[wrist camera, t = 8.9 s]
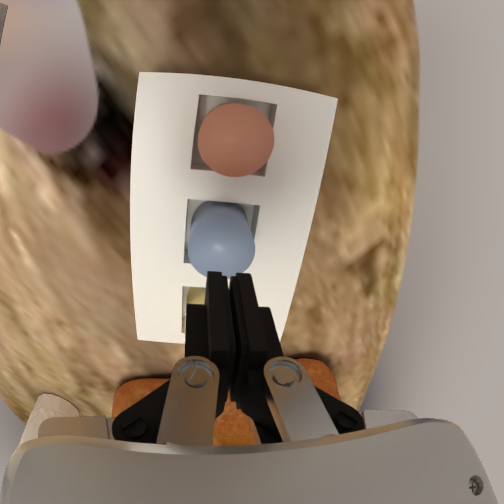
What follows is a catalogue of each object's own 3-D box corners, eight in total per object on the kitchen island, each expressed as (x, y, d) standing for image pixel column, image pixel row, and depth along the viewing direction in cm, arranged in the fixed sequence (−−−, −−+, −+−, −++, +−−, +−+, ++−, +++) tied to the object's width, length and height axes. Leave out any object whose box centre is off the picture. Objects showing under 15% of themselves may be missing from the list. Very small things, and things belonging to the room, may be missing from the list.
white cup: (28, 385, 30) (7, 442, 22) (75, 396, 32) (60, 459, 23) (44, 414, 34) (30, 466, 25) (88, 425, 35) (78, 480, 27)
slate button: (193, 195, 20) (189, 217, 17) (251, 200, 21) (260, 223, 18) (189, 248, 22) (186, 277, 19) (243, 251, 23) (250, 281, 19)
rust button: (204, 99, 17) (202, 99, 14) (266, 107, 18) (280, 109, 15) (196, 159, 19) (193, 173, 16) (256, 165, 20) (267, 181, 16)
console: (150, 76, 18) (139, 72, 14) (319, 97, 20) (337, 98, 17) (143, 313, 27) (137, 339, 24) (271, 320, 29) (278, 346, 26)
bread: (324, 414, 39) (357, 515, 24) (150, 437, 38) (147, 539, 23) (333, 343, 32) (392, 481, 17) (104, 374, 30) (80, 511, 15)
